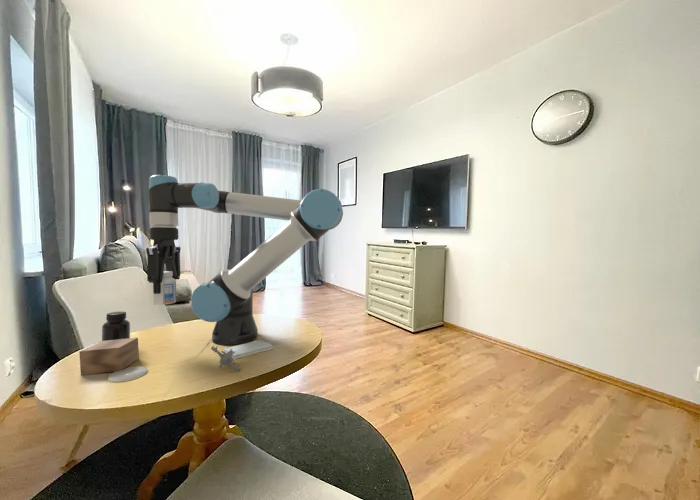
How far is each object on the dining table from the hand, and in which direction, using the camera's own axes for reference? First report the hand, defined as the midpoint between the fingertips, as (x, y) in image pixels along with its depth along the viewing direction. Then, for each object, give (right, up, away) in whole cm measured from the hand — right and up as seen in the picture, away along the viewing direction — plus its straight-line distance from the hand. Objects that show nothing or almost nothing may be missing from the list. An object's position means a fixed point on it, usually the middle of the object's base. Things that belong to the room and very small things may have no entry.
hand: (165, 301), depth 91 cm
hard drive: (+25, -16, +2) cm, 30 cm away
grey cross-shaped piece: (+23, -16, -11) cm, 31 cm away
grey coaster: (+1, -16, -17) cm, 23 cm away
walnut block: (-7, -15, -12) cm, 21 cm away
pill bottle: (0, -1, 0) cm, 1 cm away
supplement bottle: (-15, -16, 0) cm, 22 cm away
